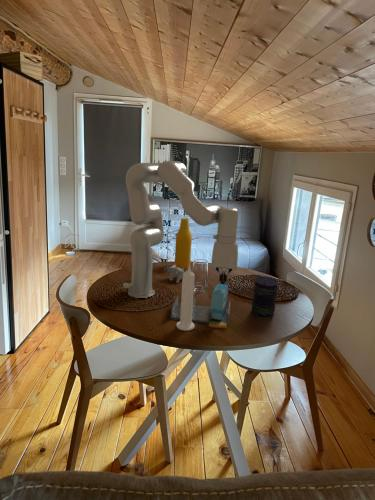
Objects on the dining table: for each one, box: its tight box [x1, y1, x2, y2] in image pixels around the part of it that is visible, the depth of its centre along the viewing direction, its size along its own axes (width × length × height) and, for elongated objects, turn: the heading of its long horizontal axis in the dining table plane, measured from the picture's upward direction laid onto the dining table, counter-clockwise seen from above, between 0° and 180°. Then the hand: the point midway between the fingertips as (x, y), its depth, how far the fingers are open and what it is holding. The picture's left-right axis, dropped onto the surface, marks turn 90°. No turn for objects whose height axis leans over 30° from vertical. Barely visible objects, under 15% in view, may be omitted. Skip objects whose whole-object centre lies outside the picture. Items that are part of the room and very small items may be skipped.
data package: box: [210, 283, 229, 320], centre depth 149 cm, size 12×4×12 cm, turn 164°
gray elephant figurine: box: [163, 264, 185, 284], centre depth 189 cm, size 9×12×8 cm
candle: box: [176, 265, 196, 332], centre depth 137 cm, size 7×7×25 cm
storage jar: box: [250, 276, 279, 319], centre depth 155 cm, size 10×10×15 cm
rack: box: [170, 294, 231, 329], centre depth 150 cm, size 23×16×5 cm
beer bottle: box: [173, 217, 193, 270], centre depth 208 cm, size 9×9×29 cm
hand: (222, 282), depth 146 cm, fingers closed
